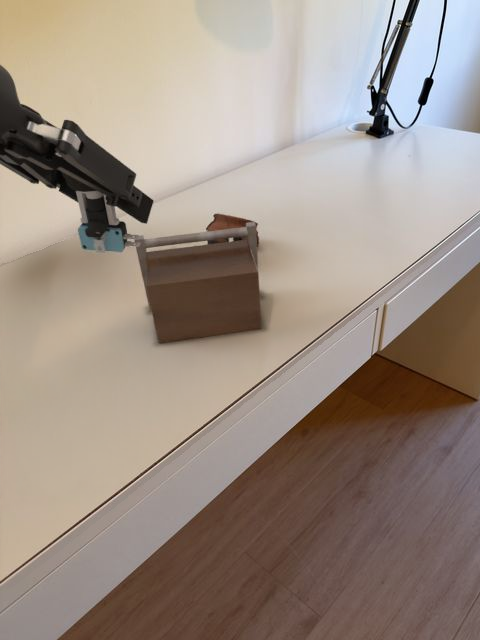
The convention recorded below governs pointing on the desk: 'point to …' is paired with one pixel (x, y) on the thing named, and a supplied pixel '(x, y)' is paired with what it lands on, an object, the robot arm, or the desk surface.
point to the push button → (99, 221)
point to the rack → (202, 284)
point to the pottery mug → (228, 227)
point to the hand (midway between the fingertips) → (125, 207)
